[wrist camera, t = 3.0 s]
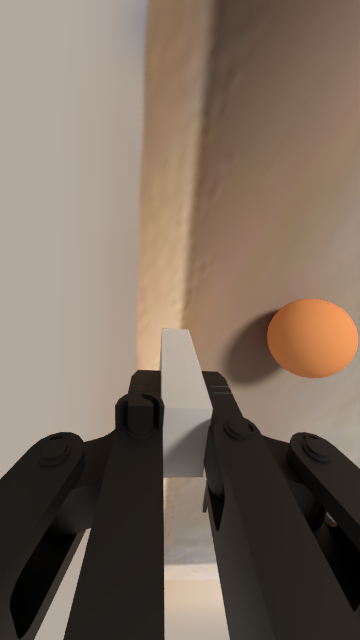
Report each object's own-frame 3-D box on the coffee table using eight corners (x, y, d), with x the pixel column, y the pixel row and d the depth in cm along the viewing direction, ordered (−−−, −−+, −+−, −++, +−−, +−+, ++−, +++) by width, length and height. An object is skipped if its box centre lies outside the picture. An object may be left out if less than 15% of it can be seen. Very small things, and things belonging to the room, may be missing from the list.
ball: (262, 289, 17) (304, 309, 12) (329, 293, 18) (396, 314, 13) (250, 353, 19) (281, 394, 14) (311, 355, 20) (363, 396, 15)
